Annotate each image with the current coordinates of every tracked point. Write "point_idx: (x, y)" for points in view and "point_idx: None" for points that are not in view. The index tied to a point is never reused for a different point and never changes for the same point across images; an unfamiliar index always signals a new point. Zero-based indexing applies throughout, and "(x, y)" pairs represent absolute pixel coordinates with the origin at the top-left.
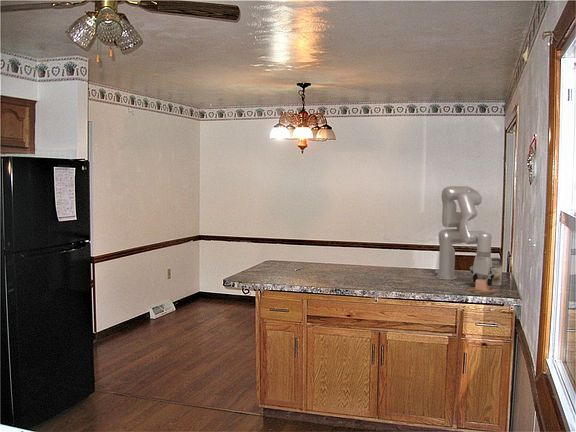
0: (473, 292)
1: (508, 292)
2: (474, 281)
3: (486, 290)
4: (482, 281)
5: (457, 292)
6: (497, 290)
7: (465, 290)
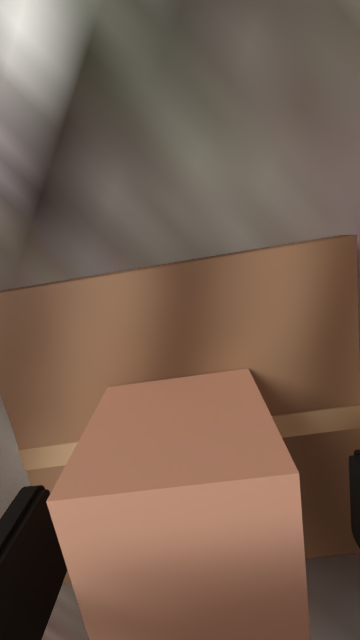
0: (180, 261)
1: None
2: (358, 473)
3: None
4: (92, 489)
5: (323, 29)
6: None
7: (327, 238)
